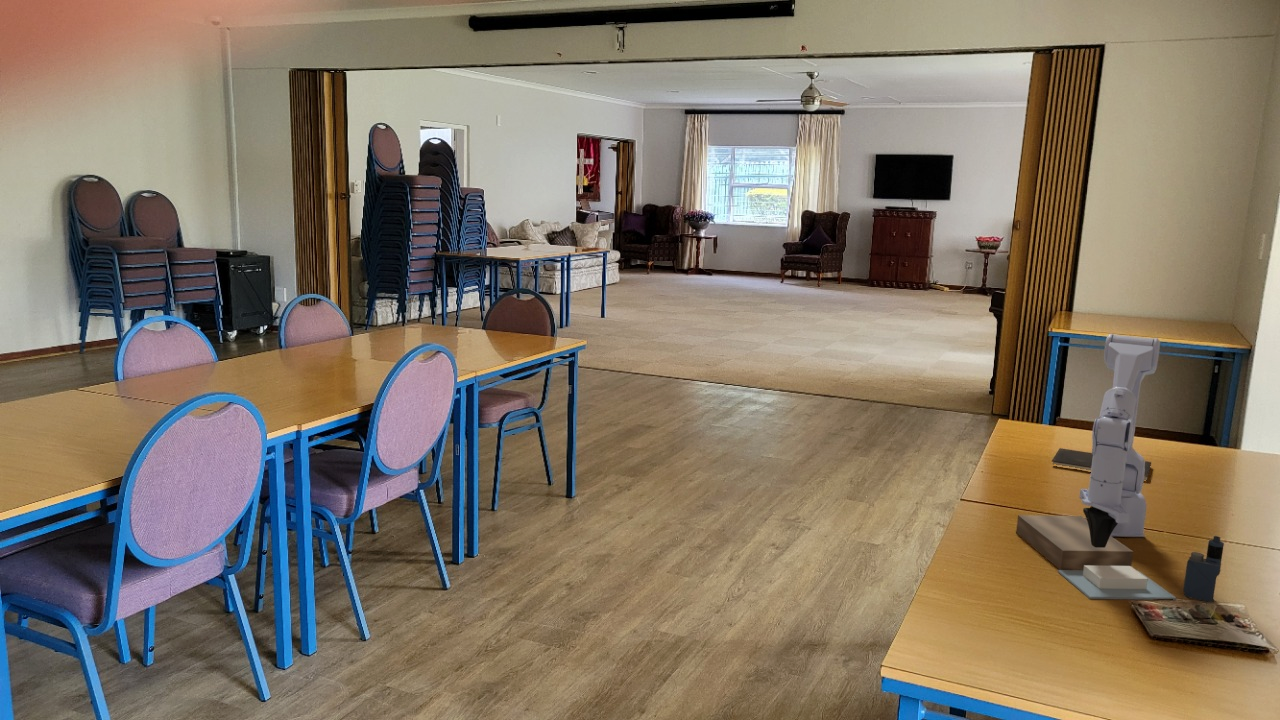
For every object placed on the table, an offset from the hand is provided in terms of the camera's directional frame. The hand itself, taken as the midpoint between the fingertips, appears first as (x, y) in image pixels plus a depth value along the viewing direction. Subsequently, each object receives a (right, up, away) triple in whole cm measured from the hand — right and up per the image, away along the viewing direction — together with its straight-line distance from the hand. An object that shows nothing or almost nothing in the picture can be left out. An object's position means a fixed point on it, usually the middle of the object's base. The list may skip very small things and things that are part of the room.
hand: (1098, 546), depth 182 cm
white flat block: (0, -4, -6) cm, 7 cm away
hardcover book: (+36, +6, +72) cm, 81 cm away
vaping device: (+13, -8, -10) cm, 18 cm away
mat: (0, -6, -6) cm, 9 cm away
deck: (-1, -3, +11) cm, 11 cm away
